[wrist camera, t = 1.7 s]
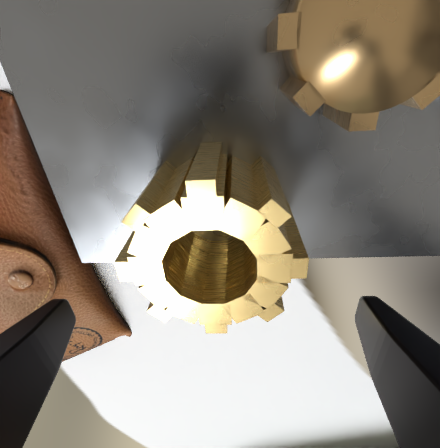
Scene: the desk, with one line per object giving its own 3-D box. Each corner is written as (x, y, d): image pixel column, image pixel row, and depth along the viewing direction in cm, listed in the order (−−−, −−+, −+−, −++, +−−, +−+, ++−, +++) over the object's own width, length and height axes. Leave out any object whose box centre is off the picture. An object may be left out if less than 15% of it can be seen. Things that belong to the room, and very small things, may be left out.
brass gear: (283, 265, 15) (299, 333, 11) (161, 267, 16) (137, 333, 12) (292, 137, 12) (319, 175, 8) (133, 146, 12) (88, 184, 8)
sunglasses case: (141, 339, 21) (59, 427, 16) (89, 310, 25) (12, 374, 20) (8, 75, 12) (-250, 110, 8) (-40, 94, 16) (-228, 124, 11)
